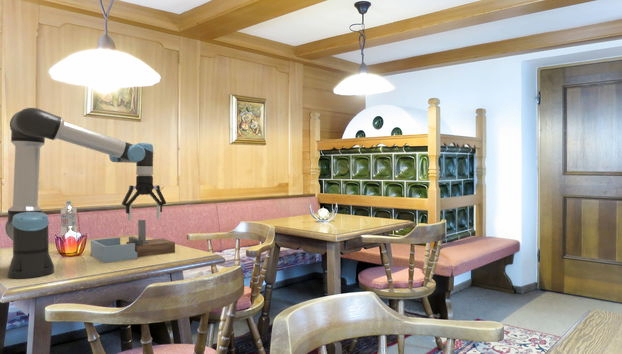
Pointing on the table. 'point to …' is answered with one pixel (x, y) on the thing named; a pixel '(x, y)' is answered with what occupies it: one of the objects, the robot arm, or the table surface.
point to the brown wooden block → (155, 247)
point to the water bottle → (68, 218)
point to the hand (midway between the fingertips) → (144, 219)
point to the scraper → (140, 234)
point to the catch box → (112, 250)
